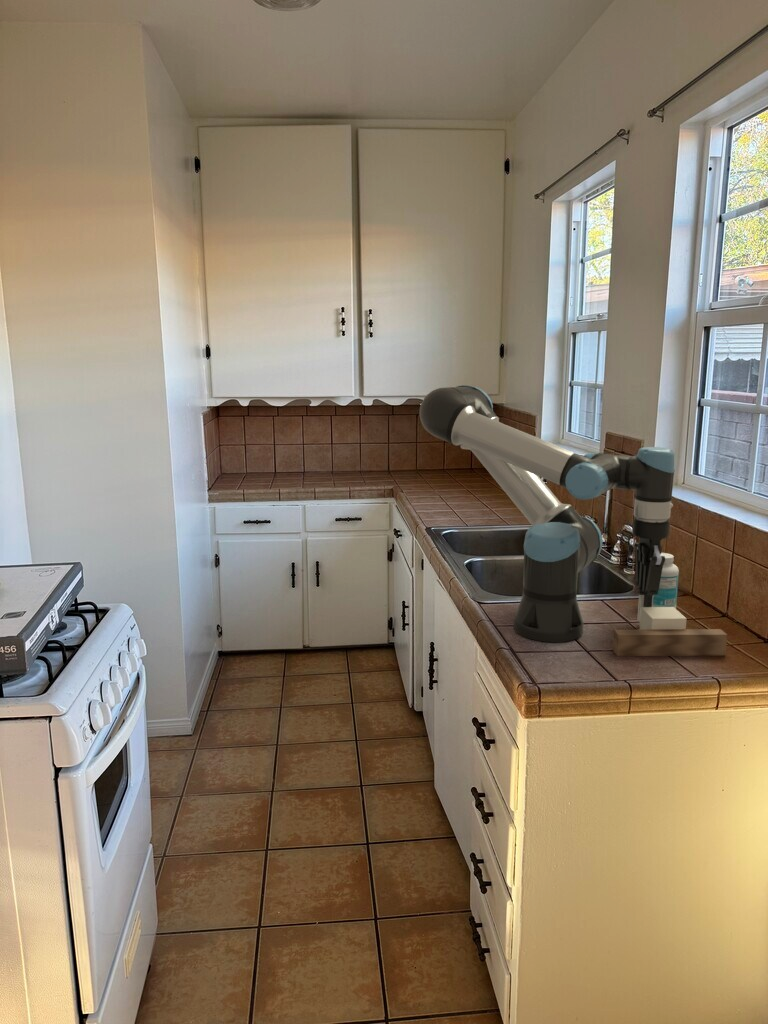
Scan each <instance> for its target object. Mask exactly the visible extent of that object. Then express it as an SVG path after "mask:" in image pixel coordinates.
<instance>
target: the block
mask: <svg viewBox="0 0 768 1024" xmlns="http://www.w3.org/2000/svg"><path fill="white" fill-rule="evenodd" d="M639 629H687V617H685V616H684V615H683V614H682V613H681V612H680V611H679V610H678V609H677V608H676V609H675V608H674V607H641V615H640V622H639Z"/></svg>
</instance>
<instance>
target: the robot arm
mask: <svg viewBox="0 0 768 1024" xmlns="http://www.w3.org/2000/svg"><path fill="white" fill-rule="evenodd" d="M493 408H494V406H493V402H492V400H491V398H490V396H489V395H488V393H486V392H485V390H483V389H481V388H479V387H476V386H472V385H468V384H467V385H464V384H462V385H458V386H452V387H451V386H450V387H449V386H448V387H439V388H435V389H433V390H432V391H430V392H429V393H427V394H426V396H425V397H424V398H423V399H422V402H421V404H420V407H419V419H420V422H421V425H422V426H423V428H424V430H425V431H426V432H427V433H429V434H430V435H432V436H433V437H435V438H437V439H439V440H442V441H444V442H447V443H450V444H452V445H454V446H459V447H460V449H462V450H470V451H471V452H472V454H474V456H475V457H476V458H477V460H478V461H479V462H480V464H482V466H483V467H484V468H485V469H486V470H487V472H488V473H489V475H490V476H491V477H492V478H493V479H494V481H496V483H497V484H498V485H499V486H500V488H501V489H502V490H503V491H504V493H505V494H506V495H507V496H508V497H509V499H510V500H511V501H512V503H513V504H514V505H515V506H516V507H517V509H518V510H519V511H520V512H521V514H522V515H523V516H524V517H525V518H526V520H527V521H528V522H529V523H530V524H531V527H529V528H528V529H527V530H526V532H525V536H524V540H523V541H524V542H523V572H522V573H523V574H522V576H523V579H522V585H523V586H522V596H521V599H520V601H519V604H518V606H517V609H516V611H515V614H514V617H513V629H514V631H515V632H516V633H517V634H518V635H519V636H522V637H524V638H528V639H529V640H530V639H531V640H534V641H539V642H547V643H548V642H549V643H564V642H565V643H566V642H570V641H575V640H577V639H579V638H581V637H582V636H583V634H584V621H583V617H582V613H581V610H580V606H579V603H578V599H577V592H578V579H579V578H578V576H579V575H578V574H579V573H580V572H581V571H583V570H584V569H585V568H587V567H589V566H590V565H591V564H593V563H594V562H595V561H596V559H597V558H598V557H599V555H600V553H601V552H602V547H603V536H602V532H601V530H600V528H599V526H598V525H597V524H596V523H595V522H594V521H593V520H592V519H590V518H589V517H586V516H581V515H580V514H579V512H578V511H577V510H576V509H575V508H574V507H573V505H571V504H569V503H562V502H561V501H560V500H559V499H558V497H557V496H556V495H555V494H554V493H553V491H551V489H550V488H549V487H548V486H547V484H546V483H545V482H544V481H543V480H542V479H544V480H547V481H549V482H552V483H554V484H556V485H559V486H560V487H563V488H566V490H567V491H568V493H570V495H571V496H572V497H574V498H576V499H578V500H581V501H582V500H585V501H586V500H593V499H596V498H598V497H600V496H601V495H603V494H604V493H606V492H608V491H610V490H612V489H615V490H616V489H617V490H618V489H619V490H627V491H628V490H629V491H635V492H634V493H635V496H634V504H633V516H634V517H635V518H634V519H633V522H632V523H633V525H632V534H633V536H635V537H637V538H639V542H635V543H634V550H635V586H636V587H637V589H638V606H637V616H636V617H637V618H636V620H637V621H638V622H639V623H640V615H641V607H653V595H658V590H659V585H660V579H661V574H662V568H663V565H664V562H665V556H661V555H660V554H661V553H662V552H663V551H662V545H661V543H662V542H661V541H662V540H665V539H668V538H669V535H670V528H671V527H670V525H671V522H670V521H669V519H670V518H671V511H672V510H671V509H672V508H673V507H674V504H673V503H672V501H673V499H672V498H673V497H672V496H673V488H674V478H675V471H676V470H675V453H674V451H673V450H672V449H671V448H668V447H661V446H644V447H640V448H639V449H638V451H637V453H636V455H625V454H624V455H622V454H610V453H609V454H608V453H603V452H598V453H595V452H593V453H592V452H591V453H590V452H589V453H586V454H584V456H583V455H581V454H578V453H576V452H574V451H571V450H568V449H567V448H564V447H562V446H559V445H557V444H554V443H552V442H550V441H547V440H545V439H542V438H540V437H537V436H534V435H532V434H530V433H527V432H525V431H522V430H520V429H517V428H515V427H512V426H510V425H507V424H504V423H503V422H501V421H500V418H499V416H497V414H496V412H495V411H494V409H493ZM541 478H542V479H541Z"/></svg>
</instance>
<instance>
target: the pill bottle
mask: <svg viewBox="0 0 768 1024" xmlns="http://www.w3.org/2000/svg"><path fill="white" fill-rule="evenodd" d="M660 555H661V556H665V562H664V565H663V568H662V574H661V579H660V585H659V590H658V595H653V607H674V608H675V609H676V610H677V601H678V600H677V599H678V590H679V588H678V587H679V573H680V569H679V567H678V566H677V565H676V564H674V560H675V559H674V557H675V556H674V555H673V554H671V553H667V552H661V554H660Z"/></svg>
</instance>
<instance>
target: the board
mask: <svg viewBox="0 0 768 1024" xmlns="http://www.w3.org/2000/svg"><path fill="white" fill-rule="evenodd" d="M612 641H613V642H612V652H614V654H615V655H616V656H617V657H630V656H631V657H636V656H637V657H638V656H641V657H644V656H645V657H653V656H655V657H656V656H657V657H659V656H661V657H662V656H663V657H665V656H666V657H667V656H669V657H670V656H672V657H673V656H675V657H677V656H678V657H679V656H691V657H692V656H726V651H727V643H728V642H727V641H728V634H727V632H725V631H724V630H723V629H721V628H700V629H699V628H691V629H690V628H686V629H640V628H638V629H614V630H613V640H612Z"/></svg>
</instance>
